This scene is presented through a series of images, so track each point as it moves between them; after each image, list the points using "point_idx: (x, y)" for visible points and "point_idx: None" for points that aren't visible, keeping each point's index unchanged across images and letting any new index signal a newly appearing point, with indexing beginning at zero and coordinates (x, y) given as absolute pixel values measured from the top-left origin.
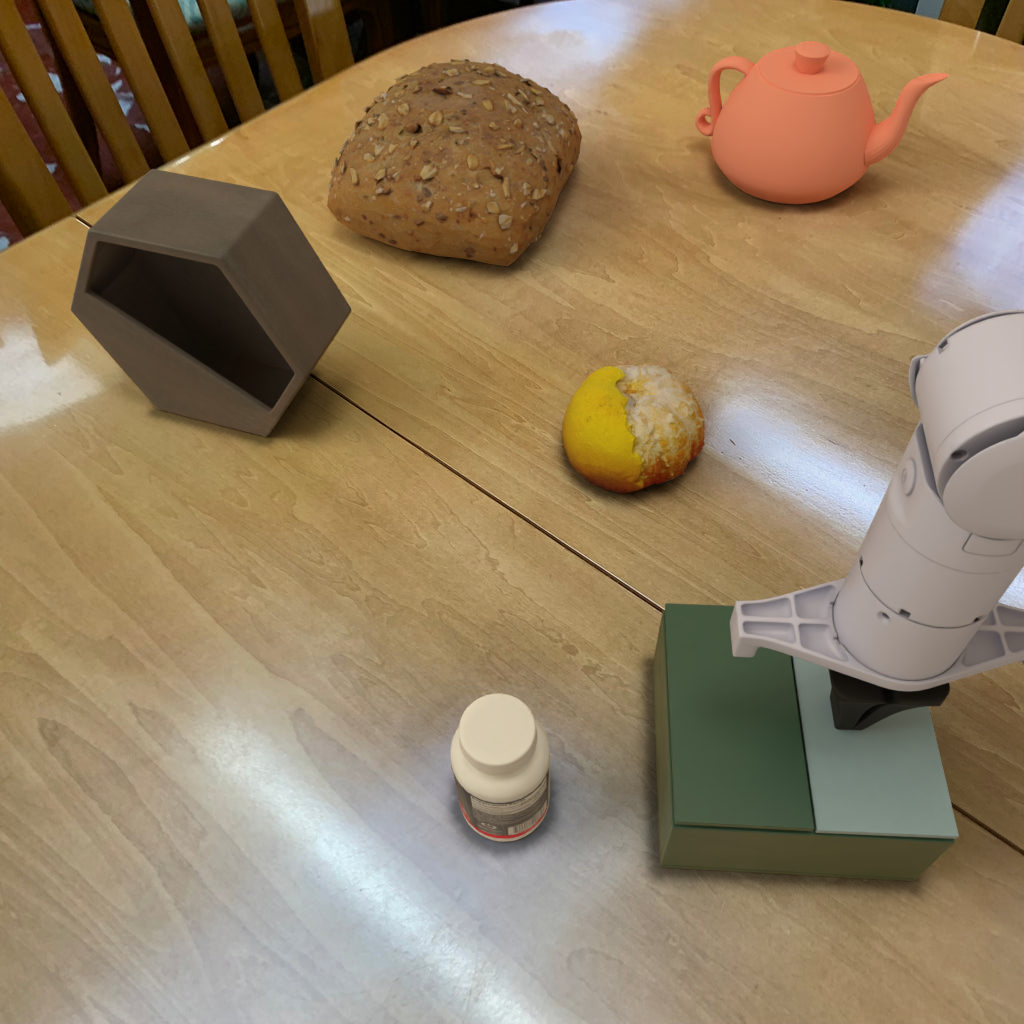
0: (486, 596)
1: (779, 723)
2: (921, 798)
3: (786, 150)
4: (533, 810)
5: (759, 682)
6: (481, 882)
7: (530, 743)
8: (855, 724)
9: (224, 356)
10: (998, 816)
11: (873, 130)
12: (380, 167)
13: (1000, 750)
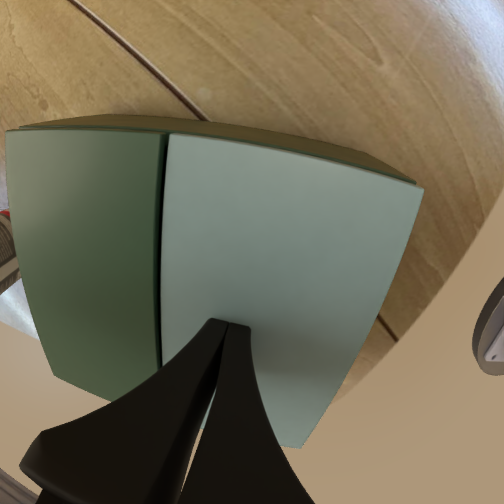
0: (2, 62)
1: (129, 337)
2: (281, 428)
3: None
4: (7, 288)
5: (104, 279)
6: (23, 286)
7: None
8: (212, 396)
9: None
10: (402, 320)
11: None
12: None
13: (443, 268)
